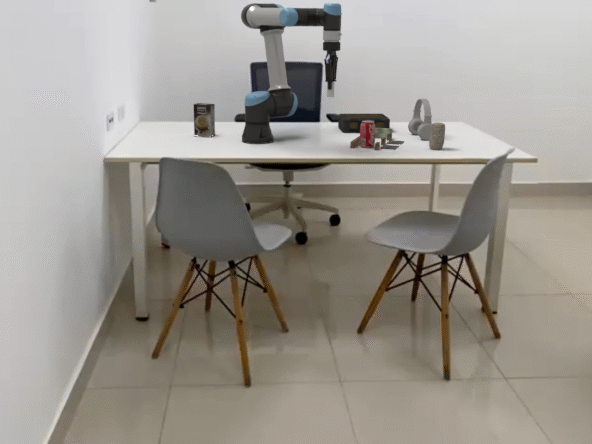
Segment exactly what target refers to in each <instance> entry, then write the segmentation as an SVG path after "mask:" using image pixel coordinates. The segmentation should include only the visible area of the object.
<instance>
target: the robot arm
mask: <svg viewBox="0 0 592 444" xmlns="http://www.w3.org/2000/svg"><path fill="white" fill-rule="evenodd" d="M342 15H343V13H342V5H341V3H338V2H337V3H333V2H331V3H330V2H328V3H327V2H326V3H324V4H323V7H321V8H318V7H311V8H310V7H283V5H281V4H279V3H257V2H256V3H255V2H254V3H249V4H247V5H245V6H244V7H243V8H242V10H241V13H240V19H241V22H242V23H243V25H244V26H246V27H247V28H249V29H252V30H259V33H260V35H261V36H262V37H263V41H264V47H265V49H264V50H265V56H266V65H267V71H268V81H269V88H268V90H259V91H253V92H252V91H251V92H250V93H247V94H246V95H245V98H244V117H245V118H244V120H245V121H244V123H245V124H244V127H243V131H242V134H241V142H242V143H245V144H246V143H247V144H253V143H254V145H255V144H256V145H257V144H258V145H259V144H268V143H269V144H270V143H272V142H273V141H274V136H273V135H274V134H273V133H272V129H271V126H270V125H271V124H270V119H275V118H277V119H278V118H287V117H292V116H293V115H294V114H295V113H296V111H297V110H298V109H297V108H298V104H299V102H298V97H297V95H296V93H295V92H292V88H291V86H290V85H288V77H287V70H286V68H287V67H286V62H285V55H284V53H285V52H284V45H283V37H282V35H283V34H284V32H285V28H286V27H288V28H289V27H316V28H317V27H323V29H322V30H323V31H322V40H323V42H322V51H324V52H325V51H326V55H325V58H324V62H323V63H324V68H325V69H324V74H325V80H324V81H325V83H326V85H327V86H326V87H327V88H326V98H334V97H335V82H337V74H338V73H337V72H338V62H339V56H338V55H337V52H339V51H341V42H340V41H341V36H342V35H343V34H342Z"/></svg>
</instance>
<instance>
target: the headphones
mask: <svg viewBox="0 0 592 444" xmlns="http://www.w3.org/2000/svg"><path fill="white" fill-rule="evenodd" d="M422 105H423V111H424V115H423V120H422V118H421V113H422V110H421V109H422ZM431 109H432V108H431V104H430V102H429V100H428V99H427V98H418V99H417V100H416V102H415V105H414V109H413V111H412V112H413V115H412V118H411V120H410V121H409V122H408V124H407V128H408V131H409V132H410V133H411V134H412V135H415V136H418V137H419V138H420V139H421V140H423V141H429V137H430V132H431V125H432V123H433V122H432V116H433V115H432V110H431Z"/></svg>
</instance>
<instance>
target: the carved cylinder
mask: <svg viewBox="0 0 592 444" xmlns="http://www.w3.org/2000/svg"><path fill="white" fill-rule="evenodd" d="M445 137H446V124H445V123H444V122H438V121H437V122H432V125H431V132H430V137H429V140H428V141H429V142H428V147H429V149H431V150H435V151H440V150H442V149H443V147H444V144H445Z"/></svg>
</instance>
